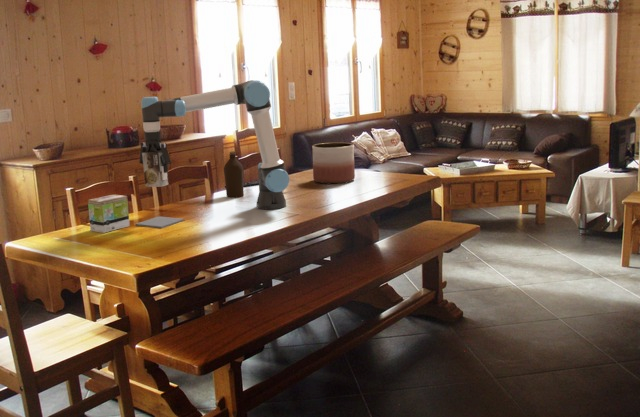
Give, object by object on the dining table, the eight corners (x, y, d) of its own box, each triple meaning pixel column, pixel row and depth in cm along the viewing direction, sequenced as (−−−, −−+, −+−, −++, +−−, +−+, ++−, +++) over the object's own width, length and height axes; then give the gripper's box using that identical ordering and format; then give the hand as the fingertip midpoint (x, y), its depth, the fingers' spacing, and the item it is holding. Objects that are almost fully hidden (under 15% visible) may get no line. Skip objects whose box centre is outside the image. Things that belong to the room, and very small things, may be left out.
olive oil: (232, 199, 369) (229, 153, 363) (222, 196, 377) (218, 152, 371) (248, 196, 375) (245, 151, 370) (238, 193, 383) (235, 149, 378)
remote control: (224, 188, 403) (224, 185, 403) (270, 181, 421) (270, 178, 420) (230, 190, 397) (230, 187, 397) (277, 183, 415) (276, 180, 414)
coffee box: (169, 184, 317) (166, 150, 313) (161, 187, 311) (158, 152, 307) (152, 184, 320) (149, 150, 316) (144, 186, 314) (141, 152, 310)
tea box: (105, 233, 303) (101, 201, 300) (90, 231, 308) (86, 199, 305) (130, 226, 315) (127, 195, 312) (115, 224, 320) (112, 193, 317)
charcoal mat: (184, 220, 322) (184, 218, 322) (162, 228, 308) (161, 226, 308) (159, 217, 330) (158, 216, 329) (135, 225, 316) (135, 223, 316)
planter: (355, 183, 400) (354, 146, 395) (312, 185, 401) (311, 148, 396) (354, 176, 425) (353, 141, 420) (313, 178, 425) (312, 143, 421)
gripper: (176, 130, 308) (180, 179, 312) (139, 129, 318) (144, 176, 323) (165, 132, 301) (169, 181, 306) (128, 131, 312) (132, 179, 317)
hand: (156, 179), depth 314 cm, fingers closed on coffee box, 10 cm apart
